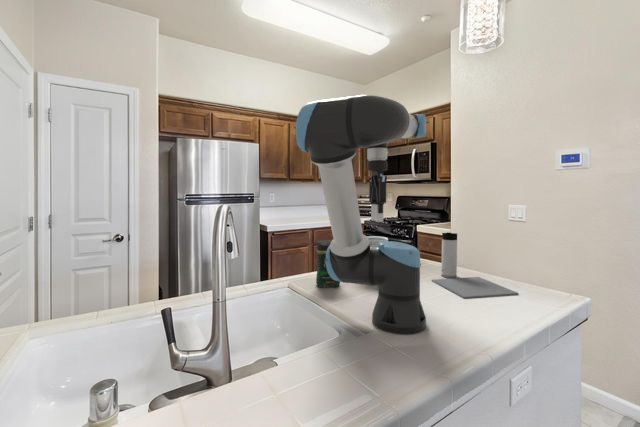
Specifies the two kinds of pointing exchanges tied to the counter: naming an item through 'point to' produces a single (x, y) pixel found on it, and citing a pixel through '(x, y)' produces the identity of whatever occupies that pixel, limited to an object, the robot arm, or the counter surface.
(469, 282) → the mat
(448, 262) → the travel mug
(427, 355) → the counter surface
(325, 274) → the coffee jar
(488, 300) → the counter surface
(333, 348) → the counter surface
